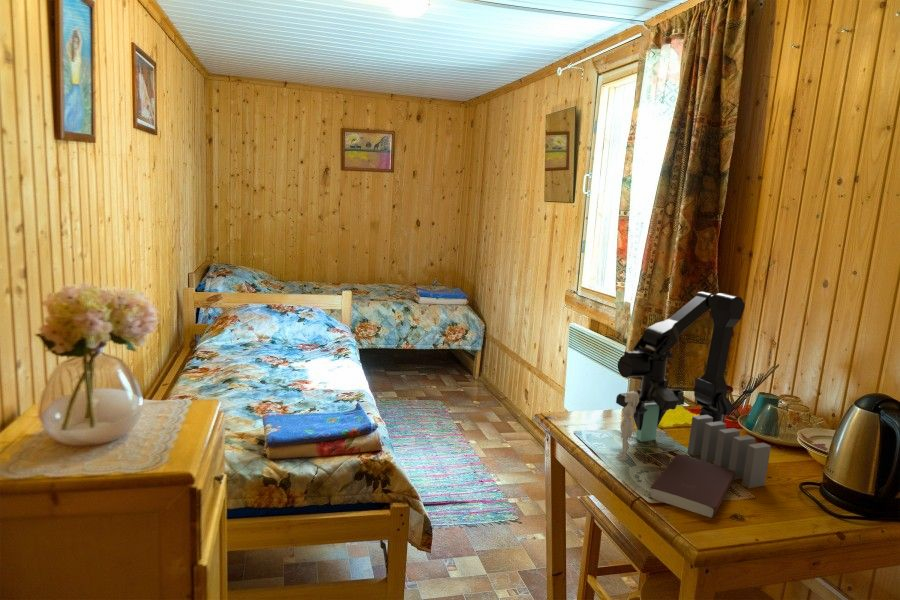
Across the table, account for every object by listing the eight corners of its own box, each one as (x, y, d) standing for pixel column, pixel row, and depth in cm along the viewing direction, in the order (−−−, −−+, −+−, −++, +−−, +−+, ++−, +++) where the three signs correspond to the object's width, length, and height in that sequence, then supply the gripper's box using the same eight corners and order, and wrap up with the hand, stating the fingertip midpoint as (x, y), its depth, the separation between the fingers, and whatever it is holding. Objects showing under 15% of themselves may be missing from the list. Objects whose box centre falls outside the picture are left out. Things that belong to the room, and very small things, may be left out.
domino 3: (728, 465, 157) (734, 427, 156) (734, 468, 156) (740, 431, 154) (713, 467, 156) (718, 429, 154) (719, 471, 154) (725, 433, 152)
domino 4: (742, 473, 153) (748, 435, 151) (749, 476, 152) (755, 438, 150) (727, 475, 152) (733, 437, 150) (733, 479, 150) (739, 440, 148)
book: (734, 483, 149) (736, 469, 148) (713, 521, 131) (716, 505, 130) (674, 466, 156) (676, 452, 156) (647, 499, 139) (649, 484, 138)
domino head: (650, 436, 173) (654, 402, 171) (655, 439, 171) (659, 405, 169) (635, 438, 171) (640, 404, 169) (640, 441, 169) (644, 406, 167)
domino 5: (757, 481, 149) (763, 442, 147) (764, 485, 147) (771, 446, 146) (741, 484, 147) (748, 444, 146) (748, 488, 146) (755, 448, 144)
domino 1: (702, 450, 166) (707, 414, 164) (707, 453, 164) (713, 417, 162) (687, 452, 164) (692, 416, 162) (693, 455, 162) (698, 419, 160)
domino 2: (715, 457, 162) (720, 421, 160) (721, 460, 160) (726, 424, 158) (700, 459, 160) (705, 423, 158) (705, 463, 158) (711, 426, 156)
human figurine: (612, 448, 163) (620, 383, 160) (627, 449, 163) (635, 384, 160) (620, 469, 152) (628, 399, 148) (636, 470, 151) (645, 400, 148)
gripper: (645, 386, 156) (638, 444, 159) (702, 381, 163) (695, 437, 166) (617, 372, 167) (611, 427, 170) (673, 368, 173) (666, 421, 176)
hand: (647, 428), depth 170 cm, fingers closed on domino head, 5 cm apart
